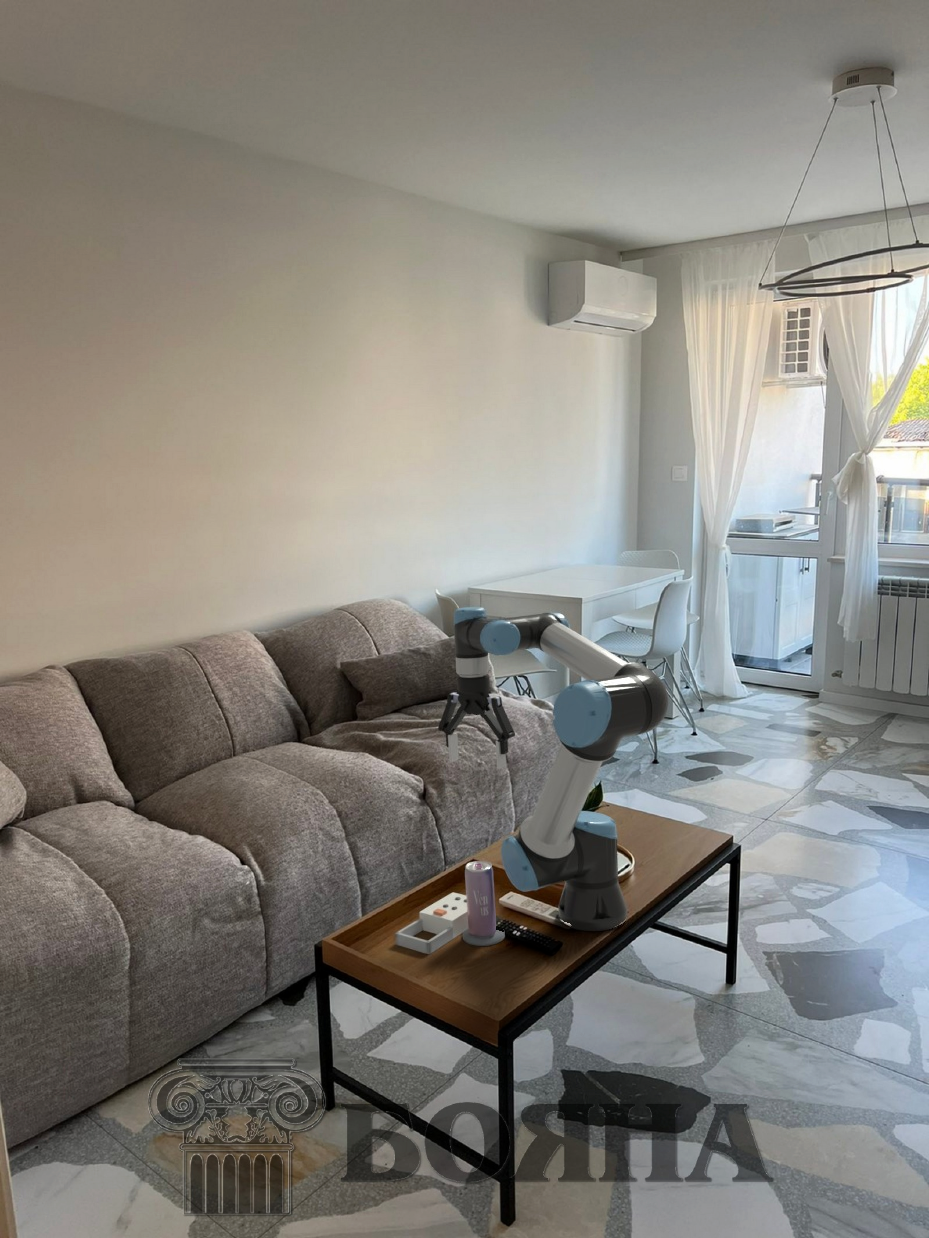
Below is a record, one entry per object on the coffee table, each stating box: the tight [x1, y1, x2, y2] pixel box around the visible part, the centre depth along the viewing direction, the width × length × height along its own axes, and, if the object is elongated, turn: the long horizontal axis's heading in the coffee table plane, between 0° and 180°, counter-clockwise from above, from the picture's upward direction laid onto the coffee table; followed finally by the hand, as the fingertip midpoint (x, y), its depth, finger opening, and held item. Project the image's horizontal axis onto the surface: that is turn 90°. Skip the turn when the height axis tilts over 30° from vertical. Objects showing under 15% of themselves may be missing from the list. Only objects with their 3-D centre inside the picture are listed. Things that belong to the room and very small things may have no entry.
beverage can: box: [464, 860, 497, 939], centre depth 200 cm, size 6×6×15 cm
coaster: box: [462, 928, 506, 947], centre depth 201 cm, size 9×9×1 cm
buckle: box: [394, 891, 468, 955], centre depth 207 cm, size 28×9×5 cm, turn 144°
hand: (477, 764), depth 219 cm, fingers open, 13 cm apart
